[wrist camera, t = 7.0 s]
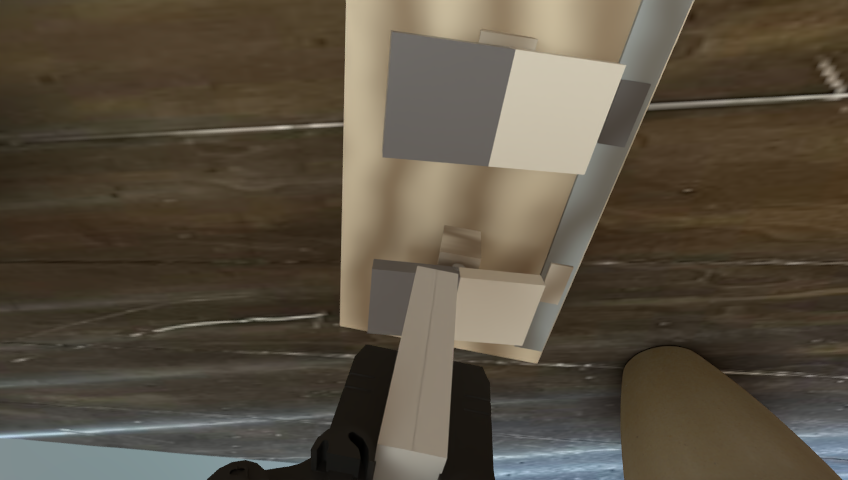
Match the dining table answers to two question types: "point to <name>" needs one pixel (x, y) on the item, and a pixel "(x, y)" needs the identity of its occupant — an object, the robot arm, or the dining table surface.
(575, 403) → the dining table surface
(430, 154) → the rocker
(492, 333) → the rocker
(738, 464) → the plant pot
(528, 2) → the switch console
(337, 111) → the dining table surface
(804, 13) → the dining table surface
